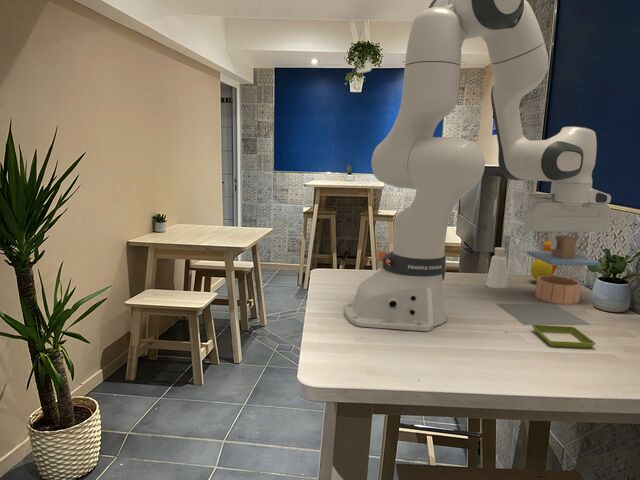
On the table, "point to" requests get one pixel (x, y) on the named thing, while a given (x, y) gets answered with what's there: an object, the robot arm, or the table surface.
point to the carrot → (547, 248)
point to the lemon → (540, 268)
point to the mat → (542, 314)
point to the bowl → (558, 289)
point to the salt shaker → (497, 270)
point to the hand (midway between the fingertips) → (563, 249)
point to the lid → (564, 254)
